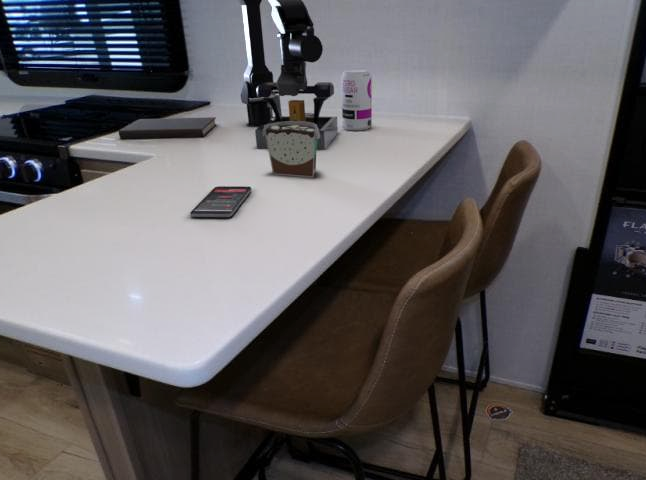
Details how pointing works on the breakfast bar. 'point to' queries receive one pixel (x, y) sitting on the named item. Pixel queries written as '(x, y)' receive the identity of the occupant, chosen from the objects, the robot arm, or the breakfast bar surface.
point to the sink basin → (324, 123)
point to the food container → (292, 147)
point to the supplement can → (356, 99)
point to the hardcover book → (168, 128)
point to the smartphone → (221, 202)
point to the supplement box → (297, 110)
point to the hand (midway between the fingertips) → (298, 125)
